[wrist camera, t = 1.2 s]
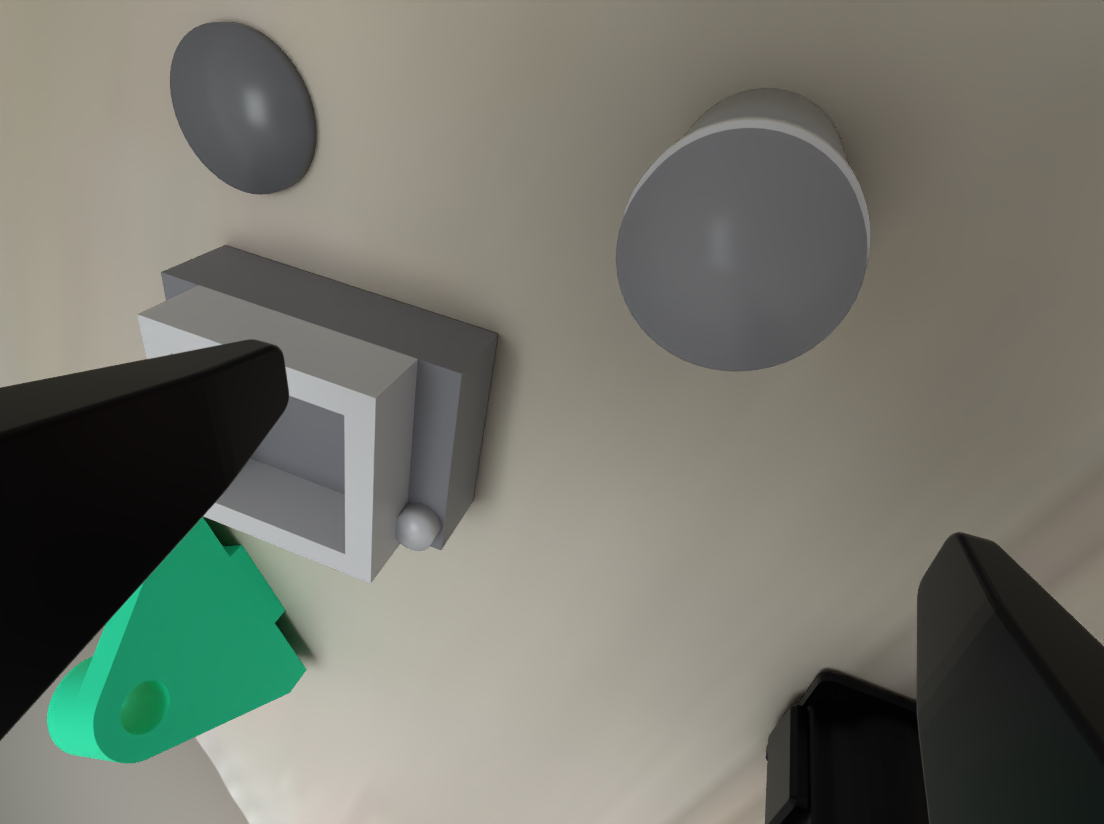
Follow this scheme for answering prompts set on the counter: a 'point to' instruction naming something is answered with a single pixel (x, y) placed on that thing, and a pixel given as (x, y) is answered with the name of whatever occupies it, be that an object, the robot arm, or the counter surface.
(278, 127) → the lens cap
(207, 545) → the camera mount
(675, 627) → the counter surface
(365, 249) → the counter surface
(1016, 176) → the counter surface
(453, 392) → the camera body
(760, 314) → the lens
